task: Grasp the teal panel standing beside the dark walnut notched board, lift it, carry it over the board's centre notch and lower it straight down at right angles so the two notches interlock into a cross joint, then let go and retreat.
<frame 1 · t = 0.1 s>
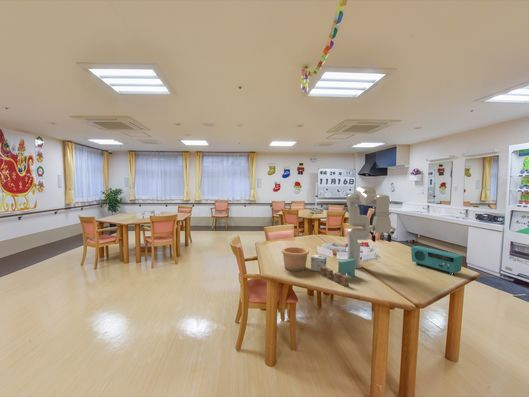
hand: (381, 241, 151), 31 cm above the table, tool pointing down, fingers open, 9 cm apart
radio: (434, 269, 193), on the table
teal panel: (346, 276, 175), on the table
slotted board: (333, 279, 169), on the table
light bulb box: (318, 270, 189), on the table
pottery: (294, 267, 193), on the table
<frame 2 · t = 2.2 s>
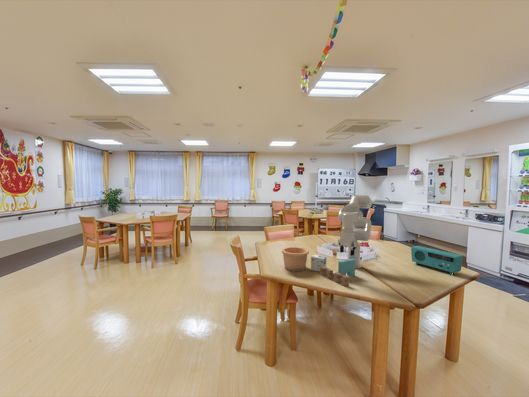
hand: (347, 253, 174), 17 cm above the table, tool pointing down, fingers open, 9 cm apart
nothing on the table moved.
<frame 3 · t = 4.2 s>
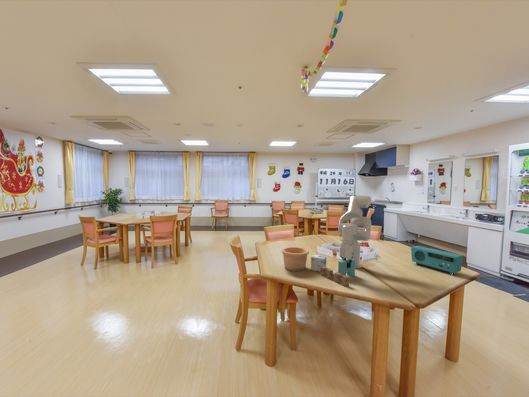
hand: (346, 266, 175), 7 cm above the table, tool pointing down, fingers closed on teal panel, 3 cm apart
teal panel: (346, 276, 175), on the table, touching gripper
everything else where it was.
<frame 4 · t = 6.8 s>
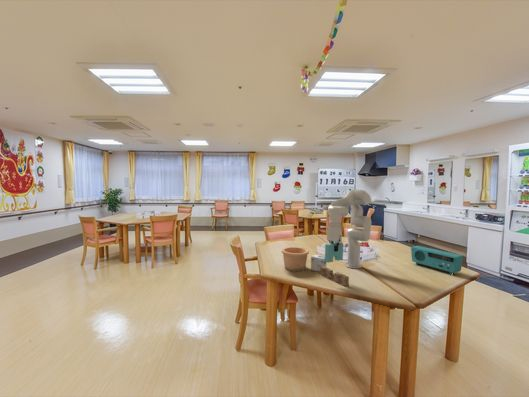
hand: (334, 250, 167), 21 cm above the table, tool pointing down, fingers closed on teal panel, 3 cm apart
teal panel: (333, 260, 168), point 14 cm above the table, touching gripper
everything else where it was.
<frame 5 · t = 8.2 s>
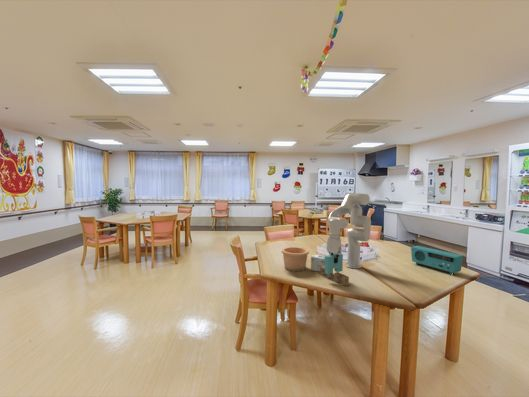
hand: (333, 262, 168), 13 cm above the table, tool pointing down, fingers closed on teal panel, 3 cm apart
teal panel: (333, 272, 168), point 6 cm above the table, touching gripper
everything else where it was.
when the fingers open (8 cm above the table, at t = 9.4 s): teal panel drops 1 cm, on the table.
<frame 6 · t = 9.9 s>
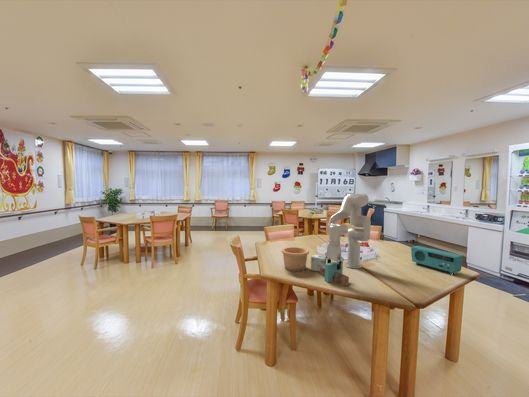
hand: (333, 267, 168), 9 cm above the table, tool pointing down, fingers open, 8 cm apart
teal panel: (333, 279, 169), on the table
everything else where it was.
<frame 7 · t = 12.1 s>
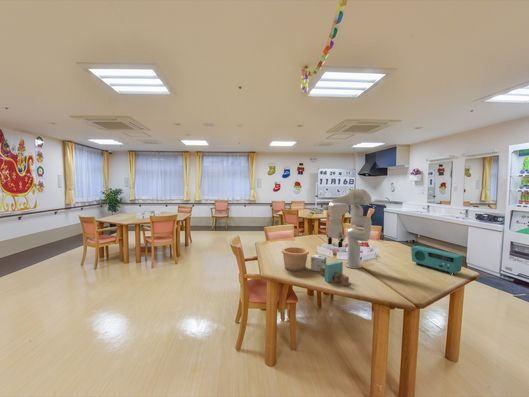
hand: (334, 245, 168), 24 cm above the table, tool pointing down, fingers open, 9 cm apart
nothing on the table moved.
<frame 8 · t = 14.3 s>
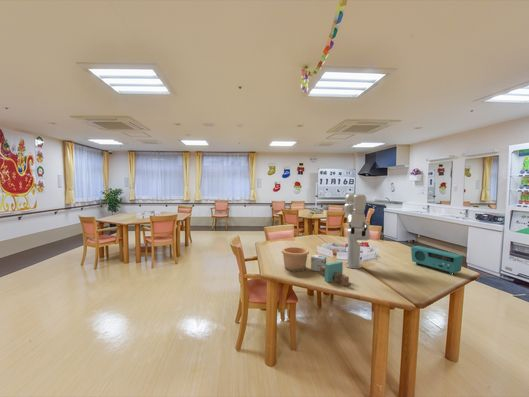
hand: (357, 234, 176), 30 cm above the table, tool pointing down, fingers open, 9 cm apart
nothing on the table moved.
at the end: teal panel 0.1 cm off-centre on the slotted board, point 0.0 cm above the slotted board's base; teal panel tilted 0°; the gripper is holding nothing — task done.
